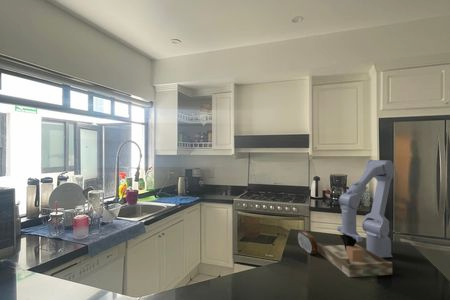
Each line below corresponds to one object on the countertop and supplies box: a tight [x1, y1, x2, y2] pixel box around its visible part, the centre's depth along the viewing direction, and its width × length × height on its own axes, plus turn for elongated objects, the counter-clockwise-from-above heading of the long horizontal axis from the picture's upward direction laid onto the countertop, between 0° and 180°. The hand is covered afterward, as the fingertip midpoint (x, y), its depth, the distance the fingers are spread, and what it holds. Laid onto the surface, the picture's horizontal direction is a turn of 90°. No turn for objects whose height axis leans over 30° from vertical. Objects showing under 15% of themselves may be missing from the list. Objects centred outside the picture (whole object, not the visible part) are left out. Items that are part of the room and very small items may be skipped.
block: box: [346, 246, 363, 261], centre depth 102 cm, size 4×4×4 cm
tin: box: [297, 230, 318, 255], centre depth 117 cm, size 15×3×8 cm, turn 9°
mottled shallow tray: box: [316, 242, 393, 278], centre depth 105 cm, size 18×24×4 cm
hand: (349, 252), depth 106 cm, fingers closed
